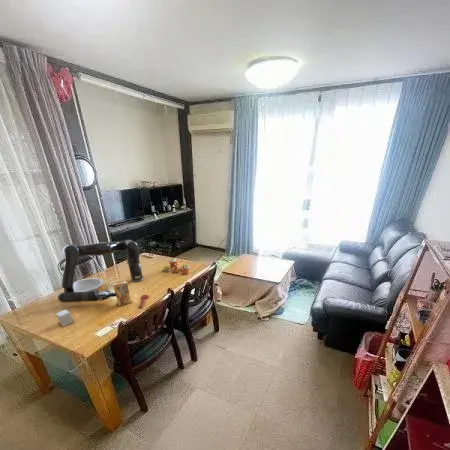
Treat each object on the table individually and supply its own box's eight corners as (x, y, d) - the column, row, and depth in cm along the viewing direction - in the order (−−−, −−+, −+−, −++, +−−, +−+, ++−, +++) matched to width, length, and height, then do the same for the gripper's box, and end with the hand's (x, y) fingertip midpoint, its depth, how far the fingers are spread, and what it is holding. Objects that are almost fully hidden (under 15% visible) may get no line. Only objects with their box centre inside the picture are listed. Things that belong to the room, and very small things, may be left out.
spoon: (142, 296, 189) (142, 294, 188) (148, 295, 189) (148, 294, 188) (137, 308, 174) (136, 306, 173) (143, 307, 174) (143, 306, 173)
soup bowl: (110, 291, 196) (108, 283, 193) (77, 303, 181) (74, 295, 178) (97, 282, 211) (94, 275, 208) (65, 293, 196) (63, 285, 192)
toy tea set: (161, 271, 229) (159, 261, 224) (170, 265, 242) (169, 255, 237) (186, 275, 220) (185, 265, 216) (195, 269, 233) (194, 259, 228)
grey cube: (73, 322, 160) (69, 312, 156) (62, 326, 156) (58, 316, 152) (69, 318, 163) (65, 309, 160) (59, 323, 159) (55, 313, 156)
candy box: (130, 300, 184) (126, 280, 176) (131, 302, 180) (127, 283, 173) (117, 303, 180) (112, 283, 173) (118, 305, 177) (113, 285, 170)
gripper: (84, 295, 168) (111, 294, 169) (92, 286, 180) (117, 285, 181) (88, 305, 172) (114, 304, 173) (95, 296, 184) (119, 295, 184)
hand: (115, 294), depth 177 cm, fingers closed
